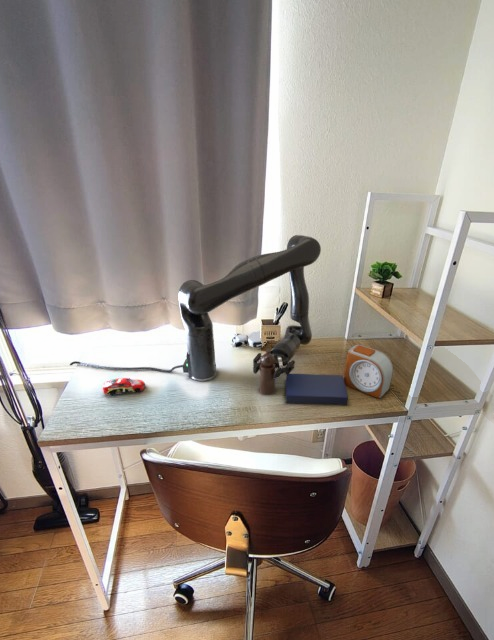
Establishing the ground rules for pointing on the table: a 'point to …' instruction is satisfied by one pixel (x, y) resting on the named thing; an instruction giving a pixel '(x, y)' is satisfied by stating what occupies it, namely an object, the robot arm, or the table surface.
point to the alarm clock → (368, 370)
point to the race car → (123, 386)
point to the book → (316, 389)
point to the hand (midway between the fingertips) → (264, 373)
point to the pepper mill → (267, 373)
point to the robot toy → (247, 340)
